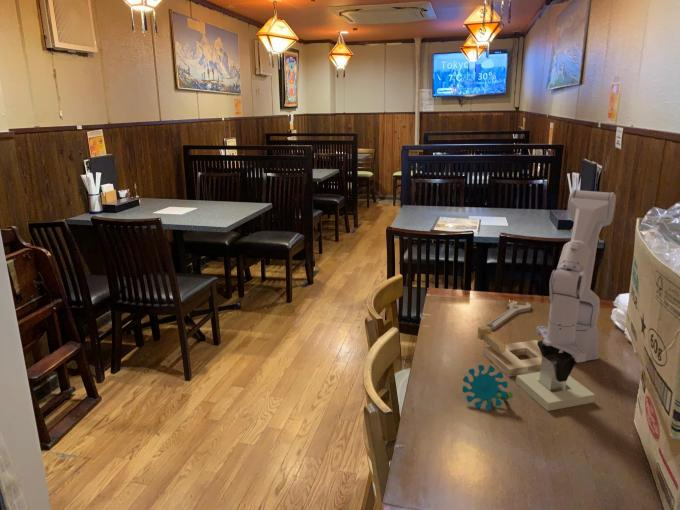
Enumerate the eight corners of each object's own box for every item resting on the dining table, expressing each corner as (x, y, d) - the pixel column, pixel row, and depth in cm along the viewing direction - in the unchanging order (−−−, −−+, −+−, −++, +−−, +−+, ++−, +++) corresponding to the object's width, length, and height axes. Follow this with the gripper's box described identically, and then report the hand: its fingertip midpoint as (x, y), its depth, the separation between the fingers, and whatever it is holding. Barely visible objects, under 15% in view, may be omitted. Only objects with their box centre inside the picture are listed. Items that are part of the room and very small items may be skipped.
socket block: (535, 346, 139) (536, 339, 139) (564, 367, 128) (565, 360, 127) (483, 354, 135) (483, 347, 135) (508, 376, 124) (509, 369, 124)
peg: (553, 383, 119) (557, 353, 117) (564, 392, 115) (568, 361, 113) (538, 386, 118) (542, 355, 116) (549, 395, 114) (553, 364, 112)
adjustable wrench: (491, 333, 149) (492, 327, 148) (473, 326, 153) (473, 321, 153) (533, 309, 165) (533, 304, 164) (515, 303, 169) (515, 298, 169)
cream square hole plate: (558, 375, 124) (559, 368, 124) (593, 402, 113) (594, 394, 113) (515, 382, 121) (516, 375, 121) (547, 410, 110) (548, 403, 110)
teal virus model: (454, 397, 113) (471, 357, 116) (457, 403, 118) (473, 364, 121) (503, 418, 108) (519, 375, 111) (504, 423, 113) (519, 383, 116)
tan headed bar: (487, 335, 138) (488, 326, 137) (507, 351, 129) (508, 341, 129) (477, 337, 138) (478, 327, 137) (496, 353, 129) (497, 342, 128)
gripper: (527, 311, 118) (521, 362, 122) (569, 337, 104) (561, 395, 108) (553, 307, 119) (546, 358, 123) (597, 333, 106) (589, 390, 110)
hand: (555, 375), depth 116 cm, fingers closed on peg, 4 cm apart
